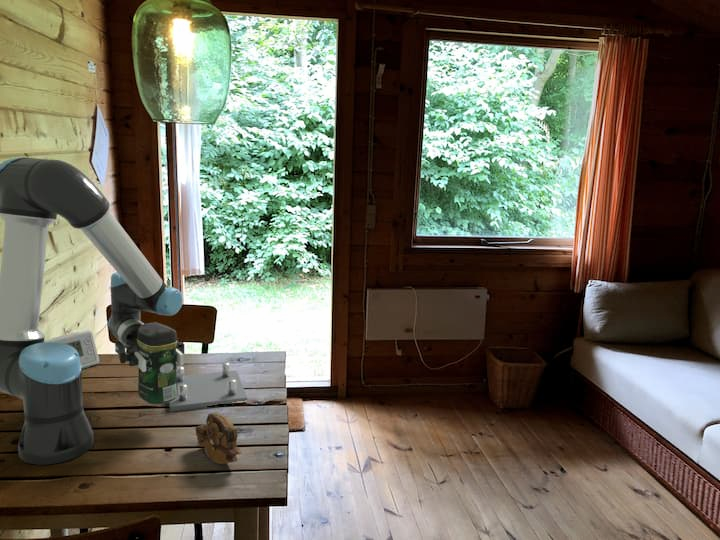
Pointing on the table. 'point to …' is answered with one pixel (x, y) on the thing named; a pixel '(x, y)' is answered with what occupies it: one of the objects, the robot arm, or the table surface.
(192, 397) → the base plate
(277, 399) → the table surface
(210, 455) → the wooden carving
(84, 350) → the digital clock
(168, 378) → the coffee jar
